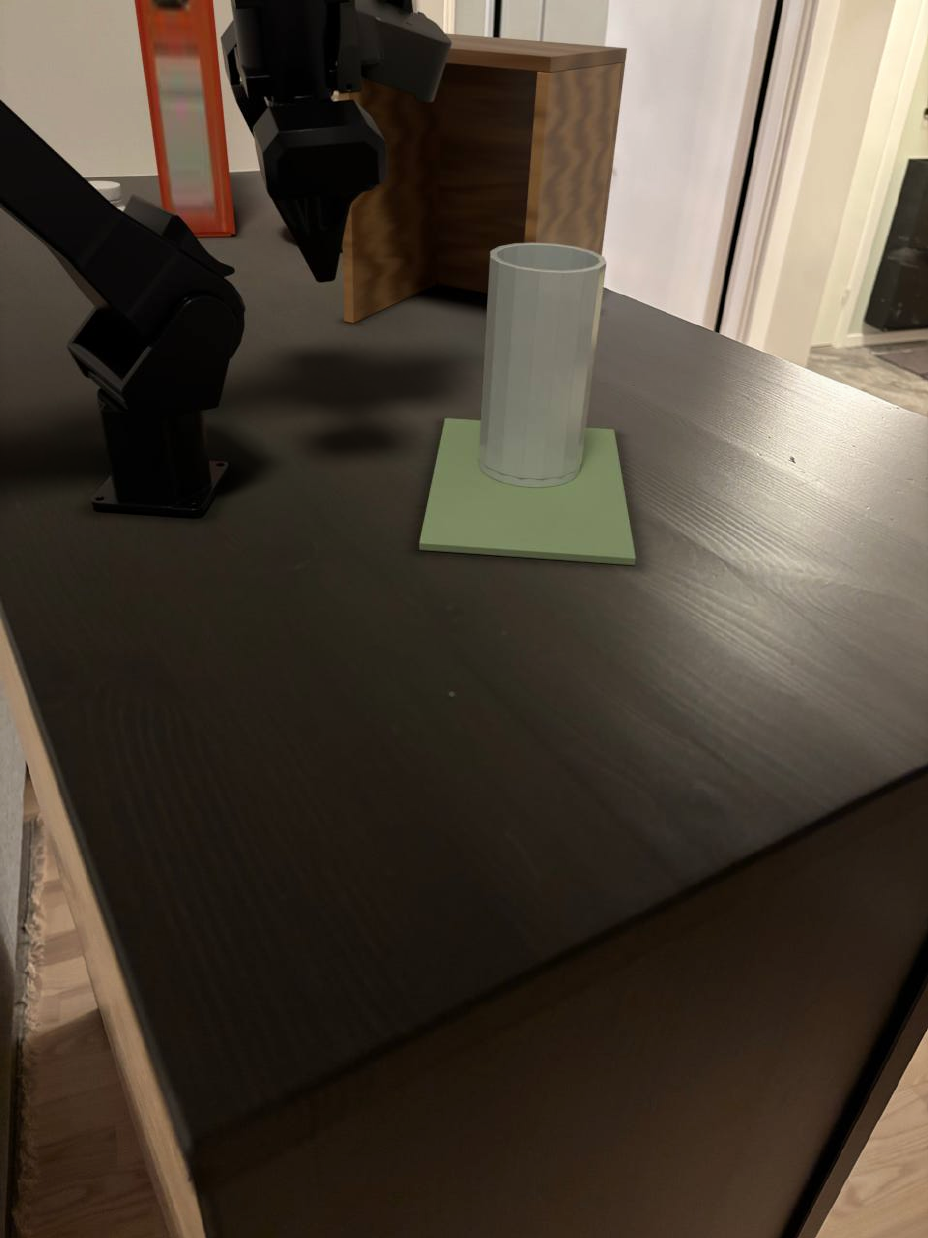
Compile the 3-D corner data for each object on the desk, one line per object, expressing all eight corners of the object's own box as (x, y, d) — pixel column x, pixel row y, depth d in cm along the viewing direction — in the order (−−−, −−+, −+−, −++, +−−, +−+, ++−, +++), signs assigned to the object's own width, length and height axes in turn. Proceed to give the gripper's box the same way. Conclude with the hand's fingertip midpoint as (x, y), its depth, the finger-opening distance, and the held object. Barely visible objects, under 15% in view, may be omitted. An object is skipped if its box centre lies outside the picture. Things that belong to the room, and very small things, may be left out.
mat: (634, 565, 53) (636, 558, 52) (418, 550, 53) (419, 542, 53) (613, 435, 68) (614, 428, 67) (444, 424, 68) (444, 417, 68)
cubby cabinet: (525, 359, 80) (551, 56, 68) (344, 321, 86) (336, 37, 74) (595, 310, 93) (627, 47, 80) (432, 280, 99) (439, 32, 87)
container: (531, 497, 58) (552, 278, 50) (456, 461, 62) (466, 252, 54) (600, 468, 62) (629, 260, 54) (526, 436, 66) (543, 237, 58)
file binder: (163, 237, 109) (119, -115, 91) (164, 205, 123) (126, -106, 105) (235, 236, 111) (206, -109, 93) (229, 205, 124) (202, -101, 106)
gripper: (489, -12, 43) (479, 303, 55) (394, -105, 55) (402, 170, 67) (243, 4, 41) (286, 329, 53) (199, -96, 53) (242, 186, 65)
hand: (312, 244), depth 59 cm, fingers open, 9 cm apart
